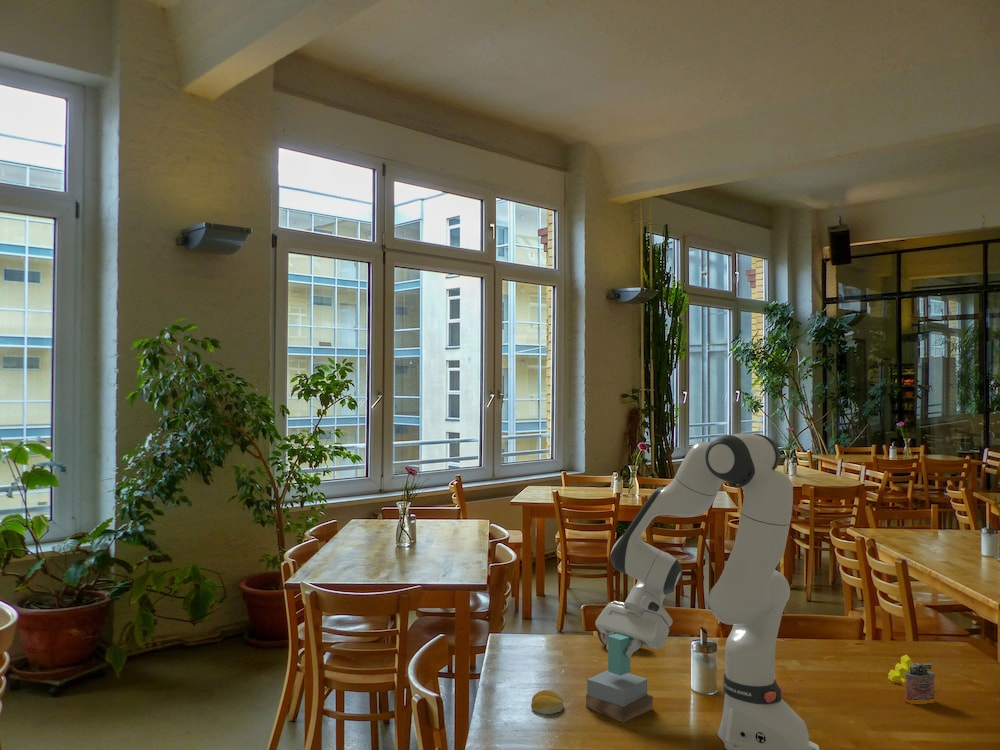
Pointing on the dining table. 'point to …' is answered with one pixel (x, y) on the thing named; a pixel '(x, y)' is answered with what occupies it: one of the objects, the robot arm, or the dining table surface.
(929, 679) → the lighter
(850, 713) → the dining table surface
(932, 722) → the dining table surface
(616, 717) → the tower base
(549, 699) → the bread roll
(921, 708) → the dining table surface
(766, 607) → the robot arm
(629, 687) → the tower top
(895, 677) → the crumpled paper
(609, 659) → the pillar block
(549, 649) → the dining table surface
